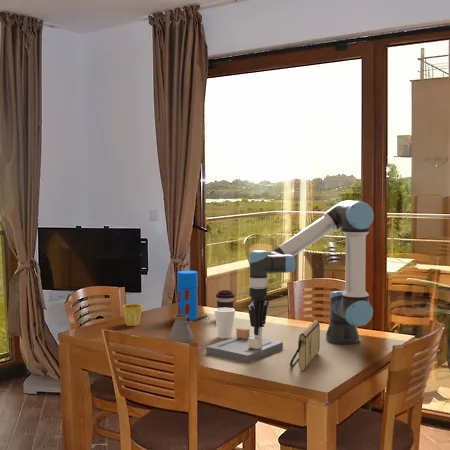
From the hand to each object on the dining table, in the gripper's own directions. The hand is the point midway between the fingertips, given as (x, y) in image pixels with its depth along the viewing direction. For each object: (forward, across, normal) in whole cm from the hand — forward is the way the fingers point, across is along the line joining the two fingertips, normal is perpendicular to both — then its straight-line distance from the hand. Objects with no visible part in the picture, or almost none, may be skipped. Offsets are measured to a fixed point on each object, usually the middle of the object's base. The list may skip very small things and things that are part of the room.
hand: (257, 342), depth 261 cm
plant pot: (+6, -5, -82) cm, 82 cm away
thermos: (+6, -33, -69) cm, 77 cm away
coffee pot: (+6, +8, -32) cm, 33 cm away
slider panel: (+5, 0, -7) cm, 9 cm away
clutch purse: (+5, -2, +22) cm, 22 cm away
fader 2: (+2, +2, 0) cm, 3 cm away
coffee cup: (+5, -44, -52) cm, 68 cm away
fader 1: (+2, -8, -14) cm, 16 cm away
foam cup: (+5, -14, -29) cm, 32 cm away
